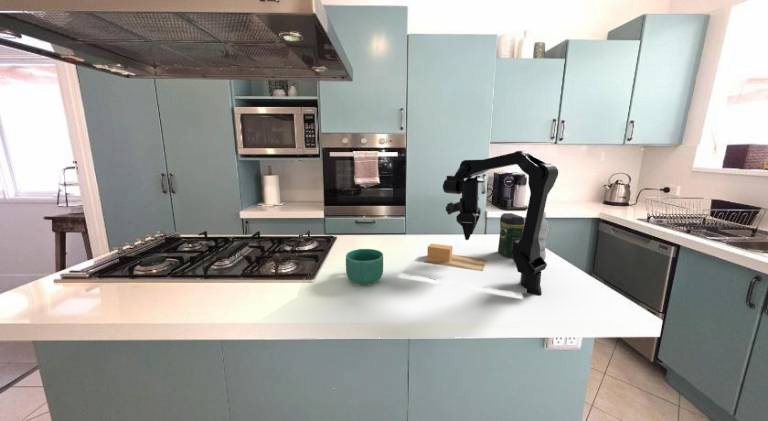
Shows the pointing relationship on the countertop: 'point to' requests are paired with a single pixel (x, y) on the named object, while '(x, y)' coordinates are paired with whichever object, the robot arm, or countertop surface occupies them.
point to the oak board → (461, 262)
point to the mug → (364, 266)
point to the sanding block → (439, 252)
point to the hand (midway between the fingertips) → (468, 236)
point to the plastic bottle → (543, 236)
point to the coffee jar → (509, 233)
